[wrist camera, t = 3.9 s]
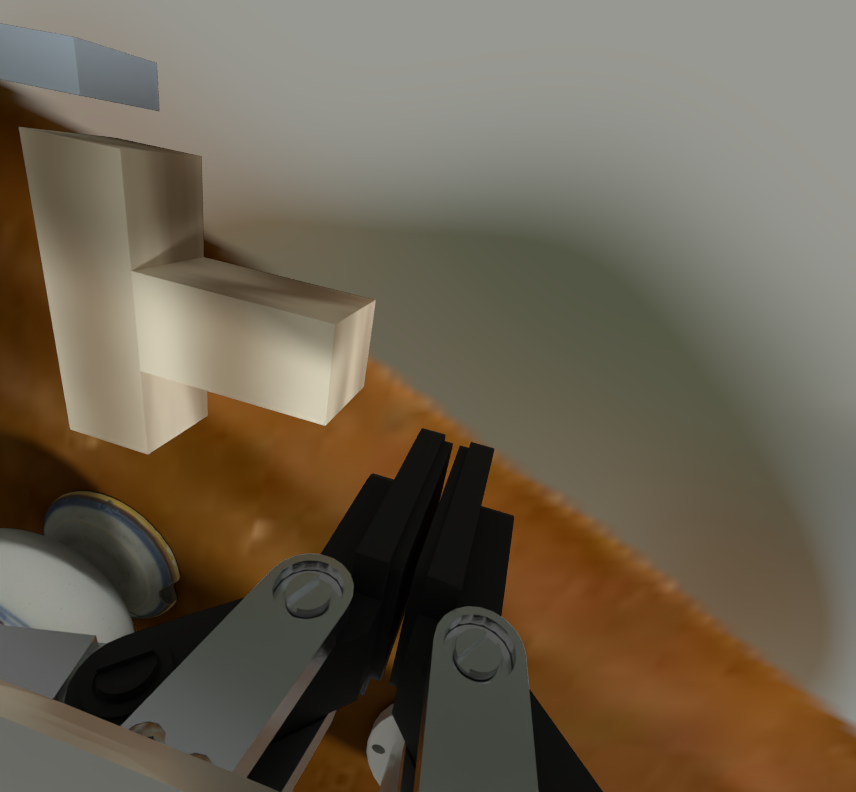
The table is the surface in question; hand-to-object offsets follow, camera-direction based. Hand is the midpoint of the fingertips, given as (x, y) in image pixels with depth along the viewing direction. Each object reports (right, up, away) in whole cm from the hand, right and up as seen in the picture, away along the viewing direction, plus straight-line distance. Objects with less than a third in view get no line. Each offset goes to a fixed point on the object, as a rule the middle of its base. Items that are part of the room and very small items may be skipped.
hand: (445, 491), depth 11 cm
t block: (-9, +6, +11) cm, 15 cm away
